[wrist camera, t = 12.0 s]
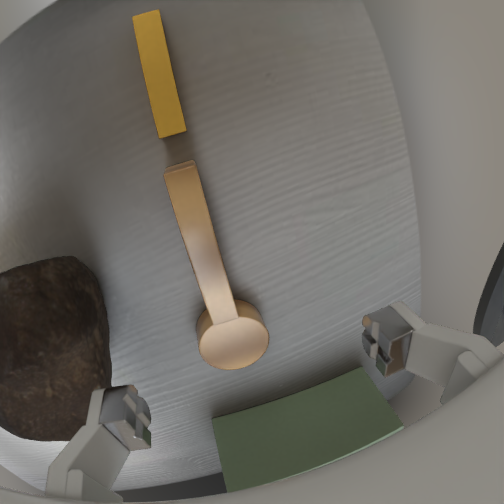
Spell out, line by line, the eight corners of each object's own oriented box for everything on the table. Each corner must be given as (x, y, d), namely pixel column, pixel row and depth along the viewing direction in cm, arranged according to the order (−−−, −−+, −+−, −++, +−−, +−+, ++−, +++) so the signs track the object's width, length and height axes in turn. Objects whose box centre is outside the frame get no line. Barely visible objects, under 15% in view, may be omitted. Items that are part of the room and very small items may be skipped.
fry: (160, 17, 12) (159, 8, 10) (186, 131, 15) (186, 131, 13) (135, 24, 11) (131, 16, 10) (160, 138, 14) (159, 139, 13)
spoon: (139, 176, 15) (132, 184, 13) (220, 152, 16) (227, 155, 13) (207, 358, 21) (211, 381, 19) (266, 340, 21) (276, 361, 19)
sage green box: (361, 366, 26) (404, 425, 19) (358, 403, 29) (391, 455, 22) (211, 418, 24) (227, 493, 17) (230, 448, 27) (247, 510, 20)
